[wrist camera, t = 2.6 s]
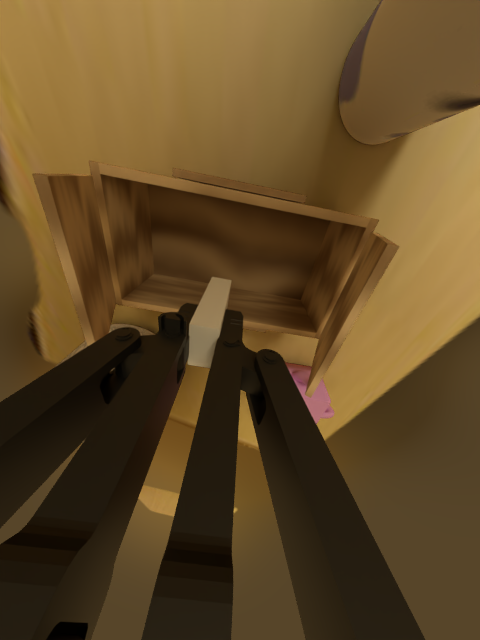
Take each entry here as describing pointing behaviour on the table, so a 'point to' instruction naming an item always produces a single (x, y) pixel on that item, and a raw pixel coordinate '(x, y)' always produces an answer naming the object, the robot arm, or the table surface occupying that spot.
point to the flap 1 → (80, 247)
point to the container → (411, 68)
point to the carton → (225, 246)
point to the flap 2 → (351, 303)
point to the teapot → (320, 397)
